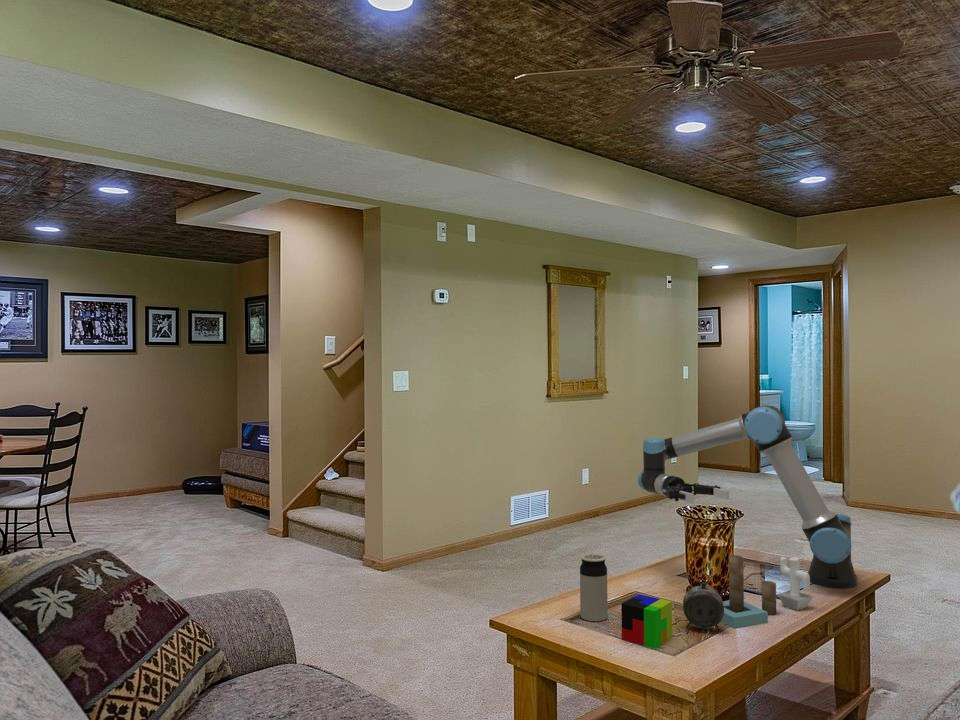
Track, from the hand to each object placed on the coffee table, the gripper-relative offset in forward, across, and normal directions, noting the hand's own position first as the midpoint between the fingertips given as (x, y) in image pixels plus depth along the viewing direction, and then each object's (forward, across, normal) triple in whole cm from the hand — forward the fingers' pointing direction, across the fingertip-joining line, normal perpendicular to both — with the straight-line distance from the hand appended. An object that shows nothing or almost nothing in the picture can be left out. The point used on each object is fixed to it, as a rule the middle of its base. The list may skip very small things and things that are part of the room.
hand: (710, 496), depth 234 cm
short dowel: (+19, -6, -32) cm, 38 cm away
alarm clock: (+23, +21, -32) cm, 45 cm away
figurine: (+18, -17, -32) cm, 40 cm away
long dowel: (+19, +6, -32) cm, 37 cm away
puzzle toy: (+22, +39, -32) cm, 55 cm away
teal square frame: (+19, +6, -32) cm, 38 cm away
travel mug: (+2, +44, -32) cm, 55 cm away
